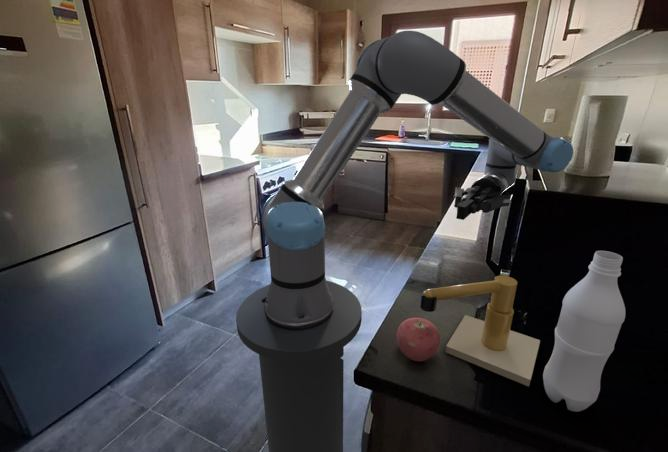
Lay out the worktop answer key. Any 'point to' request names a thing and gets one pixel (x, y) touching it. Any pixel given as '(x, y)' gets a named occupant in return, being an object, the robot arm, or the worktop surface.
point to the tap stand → (495, 346)
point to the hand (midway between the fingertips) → (460, 213)
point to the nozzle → (474, 293)
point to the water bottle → (586, 334)
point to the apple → (418, 339)
